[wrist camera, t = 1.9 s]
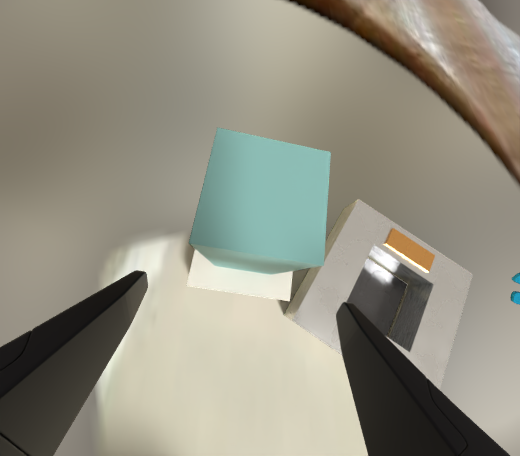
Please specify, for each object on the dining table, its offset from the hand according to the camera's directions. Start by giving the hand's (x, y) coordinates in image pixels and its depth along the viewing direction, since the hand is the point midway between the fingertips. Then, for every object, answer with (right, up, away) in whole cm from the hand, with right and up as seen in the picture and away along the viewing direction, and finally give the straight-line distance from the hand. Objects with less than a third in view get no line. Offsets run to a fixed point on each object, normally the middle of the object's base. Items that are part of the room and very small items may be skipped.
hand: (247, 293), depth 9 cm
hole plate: (+13, -4, +13) cm, 18 cm away
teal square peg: (-1, +2, +9) cm, 10 cm away
